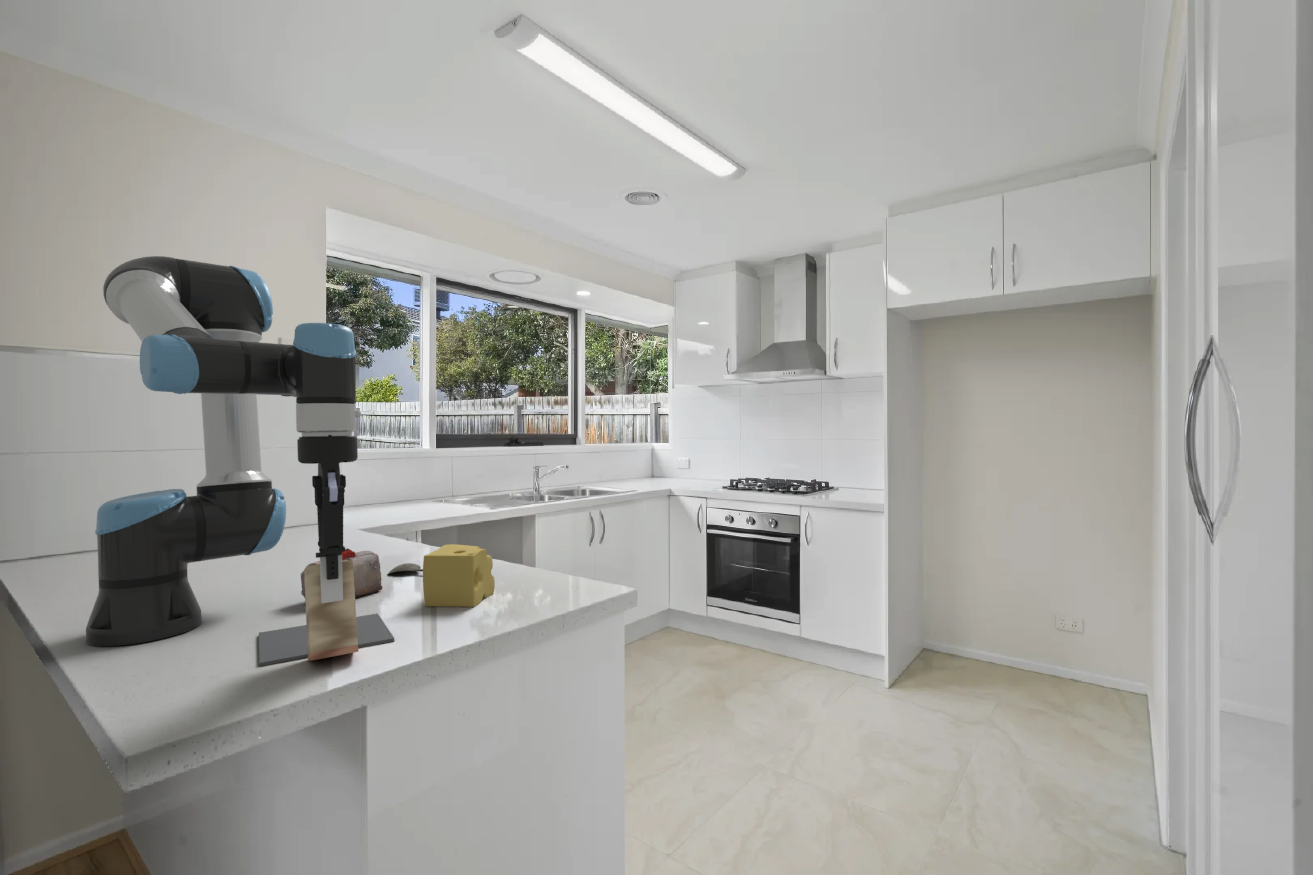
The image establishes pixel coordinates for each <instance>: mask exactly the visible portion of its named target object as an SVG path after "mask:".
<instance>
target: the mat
mask: <svg viewBox="0 0 1313 875" xmlns="http://www.w3.org/2000/svg"><path fill="white" fill-rule="evenodd" d="M356 621H357V637H358V649H360V648H367V647H371V646H376V645H381V644H387V643H392V642H395V636H393V634H392V632H391V631H390V630H389V628H388V626H387V625H386V623H385V622H384V621H383V619H382V618H381V616H380V614H379V613H371V614H366V615H359V616H356ZM258 650H259V651H258V654H259V655H258V656H259V667H265V666H269V665H274V664H279V663H285V662H290V661H296V660H301V659H302V660H303V659H308V645H307V624H305V625H299V626H291V627H284V628H279V629H273V630H267V631H261V632H258Z"/></svg>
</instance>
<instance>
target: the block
mask: <svg viewBox="0 0 1313 875" xmlns="http://www.w3.org/2000/svg"><path fill="white" fill-rule="evenodd" d="M303 571H304V580H305V597H304V599H305V600H304V601H305V620H306V621H305V622H306V625H307V645H308V657H307V660H308V661H317V660H321V659H327V658H332V657H338V656H343V655H348V654H353V653H357V652H358V653H359V648H358V637H357V621H356V617H357V609H356V607H357V606H356V598H355V589H354V573H353V561H344V562H342V572H343V600H342V601H335V602H328V603H321V585H320V564H319V565H311V566H308V565H306V566H305V568H304V569H303Z"/></svg>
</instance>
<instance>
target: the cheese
mask: <svg viewBox="0 0 1313 875" xmlns="http://www.w3.org/2000/svg"><path fill="white" fill-rule="evenodd" d="M493 562H494V561H493V558H492V556H491V555H490V554H488V553H487V549H486V548H481V547H480V546H477V545H468V544H467V545H466V544H454V543H453V544H452V543H451V544H443V545H442V546H440V547H439V548H437V549H436V550H434V551H432V552H430V553H428V554H425V555H423V564H422V569H423V571H422V590H423V600H424V607H437V608H438V607H441V608H442V607H443V608H444V607H449V608H450V607H454V608H458V607H459V608H464V607H465V608H474V607H476V606H477V605H478V604H480V603H481V602H482V601H483V599H486V598H488V597H489V596H491V595H493V594H495V577H494V576H493V574H492V569H493V565H494V564H493Z"/></svg>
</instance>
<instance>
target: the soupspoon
mask: <svg viewBox="0 0 1313 875" xmlns="http://www.w3.org/2000/svg"><path fill="white" fill-rule="evenodd" d="M397 572H423V568H422V567H421V565H419V564H416V563H410V562H409V563H407V562H406V563H402V564H399V565H397V566H395V567H393V568H392V569H391V570H389V572H388V573H387V575H390V574H392V573H397Z"/></svg>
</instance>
